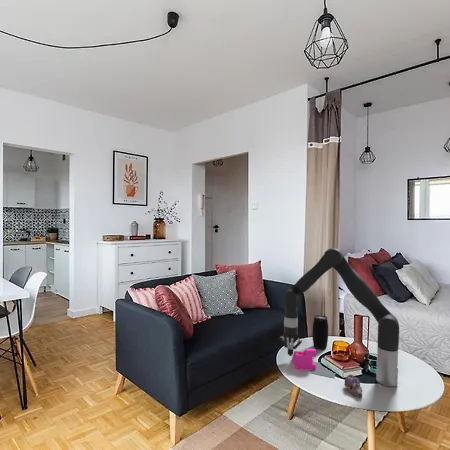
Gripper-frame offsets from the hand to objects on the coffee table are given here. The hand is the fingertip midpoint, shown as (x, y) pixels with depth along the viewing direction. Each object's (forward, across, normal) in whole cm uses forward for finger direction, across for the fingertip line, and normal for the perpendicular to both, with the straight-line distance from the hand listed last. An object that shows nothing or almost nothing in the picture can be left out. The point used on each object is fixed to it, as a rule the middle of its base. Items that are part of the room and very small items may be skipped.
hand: (290, 355), depth 179 cm
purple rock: (+4, -34, +17) cm, 38 cm away
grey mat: (+4, -18, +1) cm, 19 cm away
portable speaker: (+4, -12, -28) cm, 31 cm away
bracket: (+4, -7, 0) cm, 8 cm away
